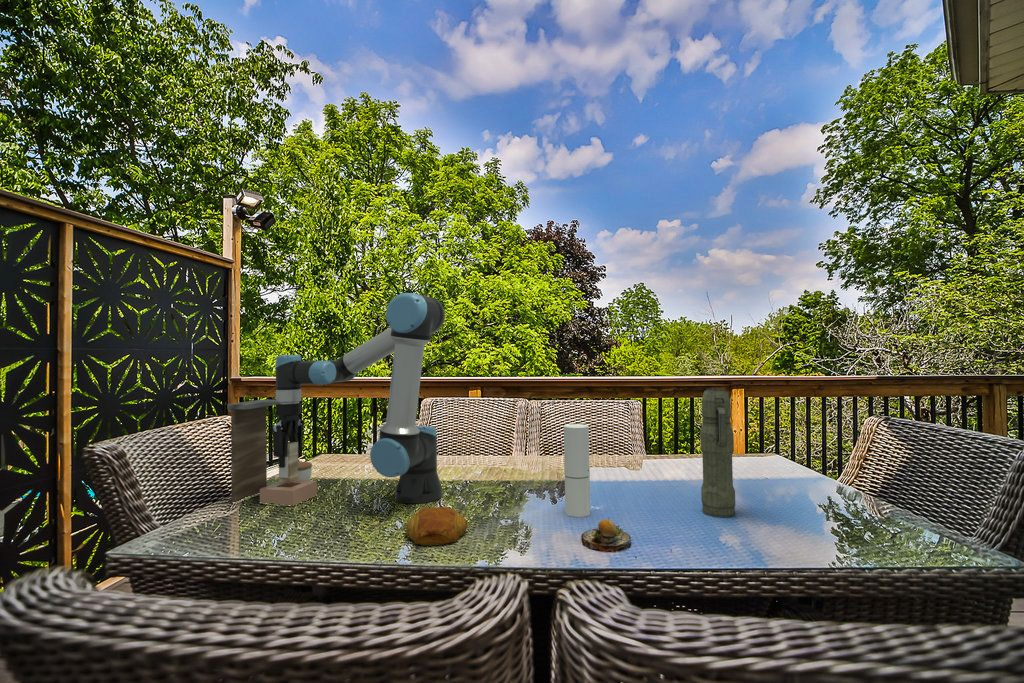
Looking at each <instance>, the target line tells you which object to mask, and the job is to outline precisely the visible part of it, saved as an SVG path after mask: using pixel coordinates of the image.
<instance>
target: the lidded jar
mask: <svg viewBox="0 0 1024 683" xmlns="http://www.w3.org/2000/svg"><path fill="white" fill-rule="evenodd" d="M312 468H313V464H312V462H308V461H298V479H297V480H308V481H311V478H312V471H313V470H312Z"/></svg>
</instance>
